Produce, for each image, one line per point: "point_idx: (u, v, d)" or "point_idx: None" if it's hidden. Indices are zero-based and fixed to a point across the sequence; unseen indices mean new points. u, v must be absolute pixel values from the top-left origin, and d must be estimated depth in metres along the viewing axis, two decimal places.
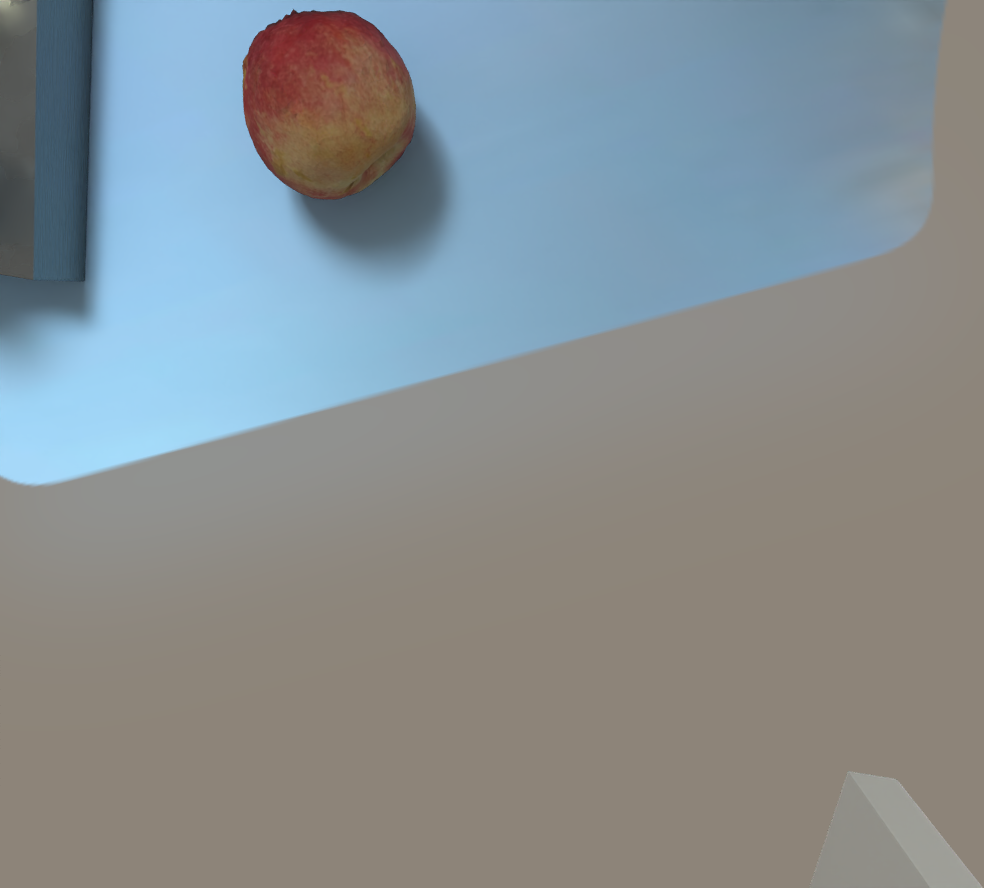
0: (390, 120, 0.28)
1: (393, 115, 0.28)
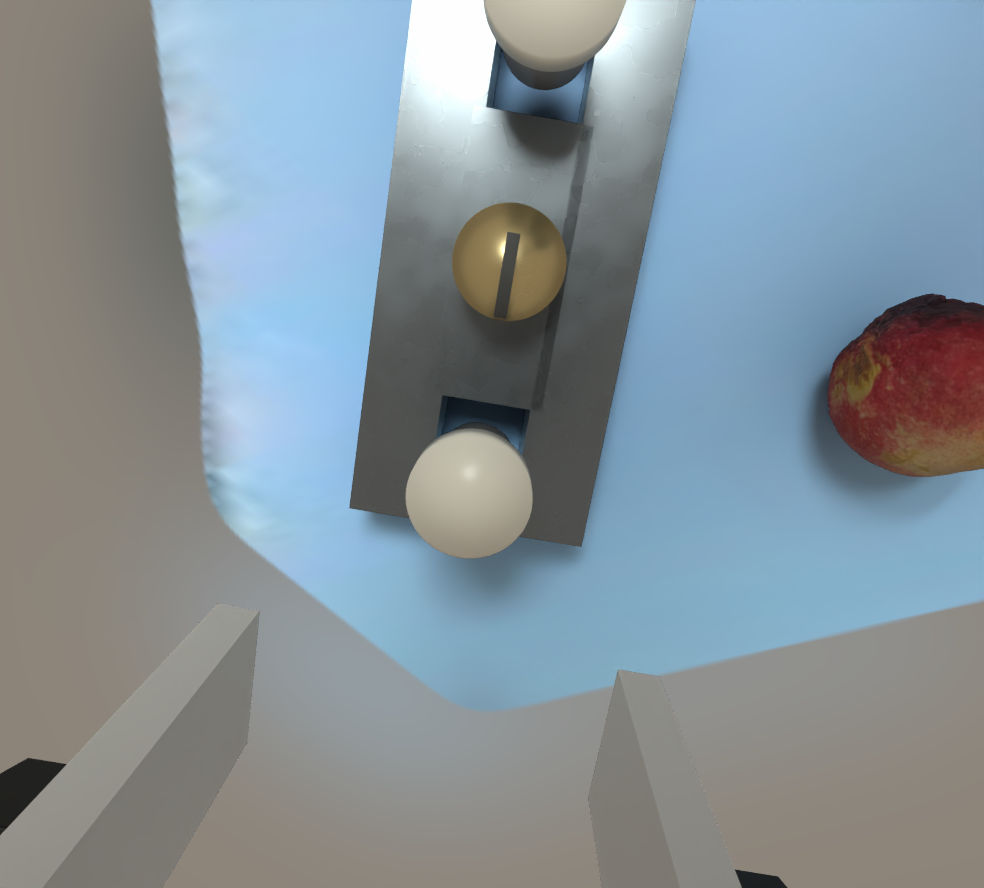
0: None
1: None
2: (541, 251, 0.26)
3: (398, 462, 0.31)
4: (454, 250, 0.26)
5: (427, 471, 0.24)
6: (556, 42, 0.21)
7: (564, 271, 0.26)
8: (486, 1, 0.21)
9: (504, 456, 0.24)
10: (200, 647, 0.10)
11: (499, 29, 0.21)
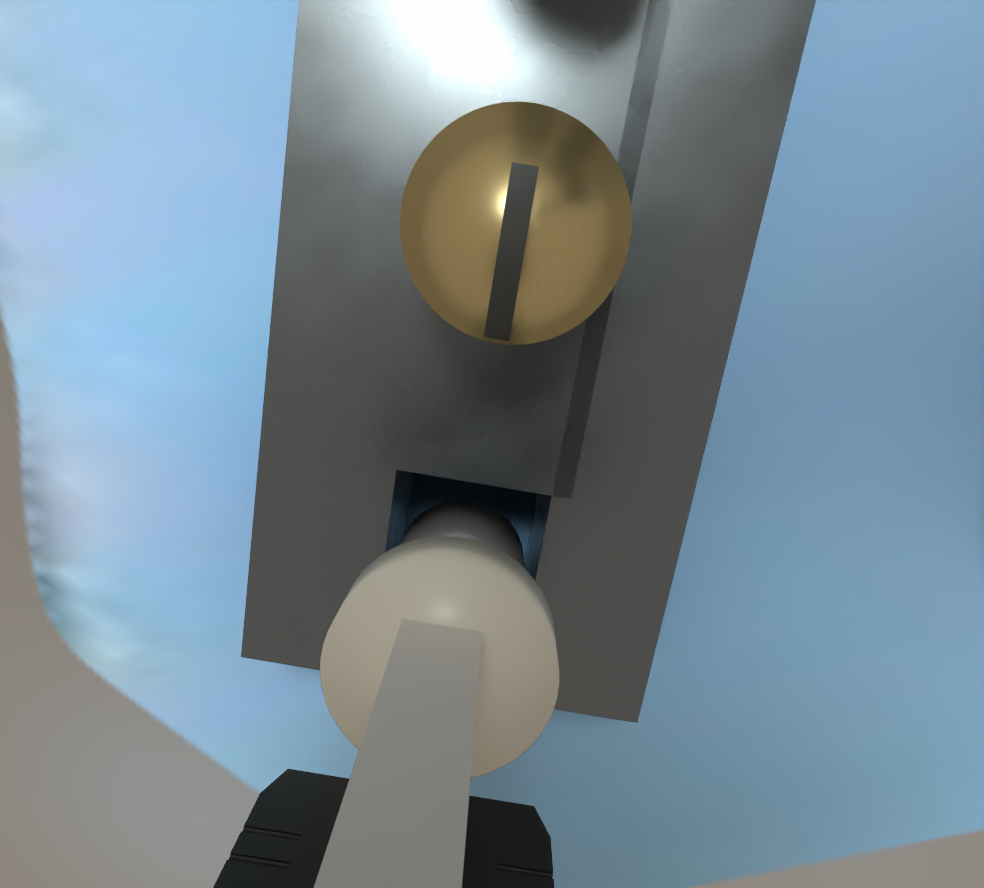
0: None
1: None
2: (581, 205, 0.13)
3: (322, 584, 0.18)
4: (404, 202, 0.13)
5: (359, 628, 0.13)
6: None
7: (627, 245, 0.13)
8: None
9: (506, 601, 0.12)
10: (408, 661, 0.11)
11: None
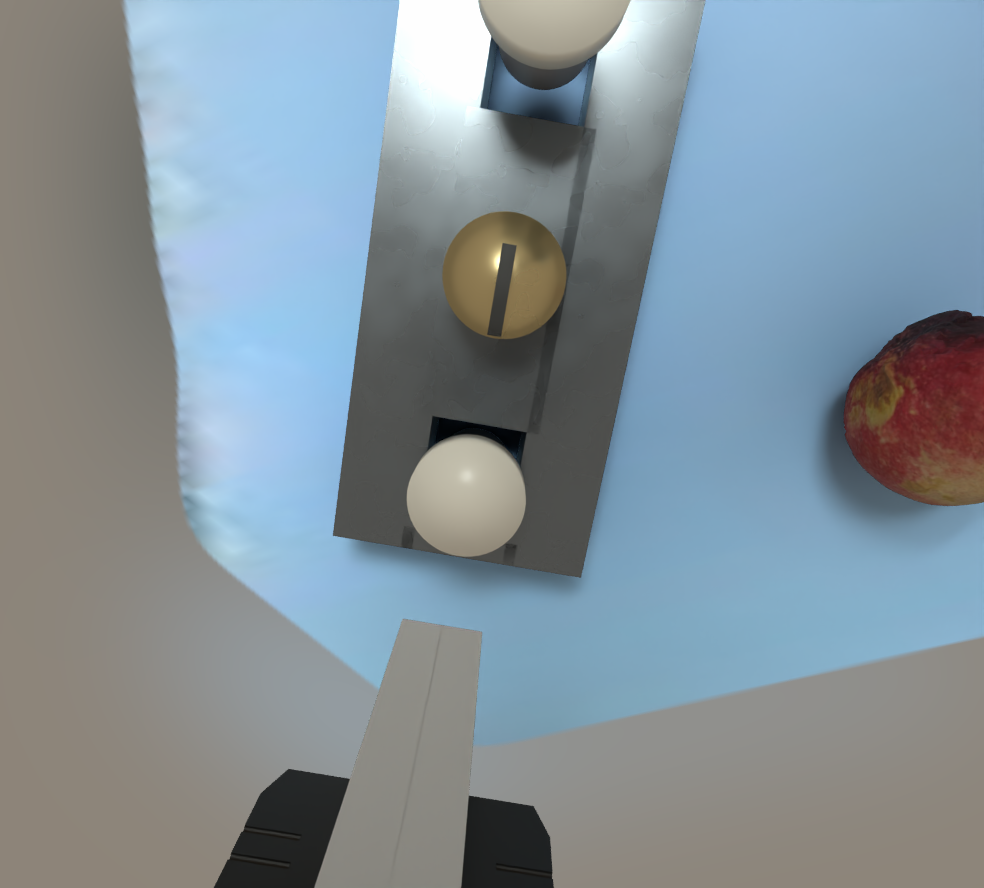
0: None
1: None
2: (539, 264, 0.24)
3: (385, 488, 0.29)
4: (445, 262, 0.24)
5: (426, 474, 0.26)
6: (556, 36, 0.19)
7: (564, 286, 0.24)
8: None
9: (499, 460, 0.25)
10: (409, 662, 0.11)
11: (493, 22, 0.19)
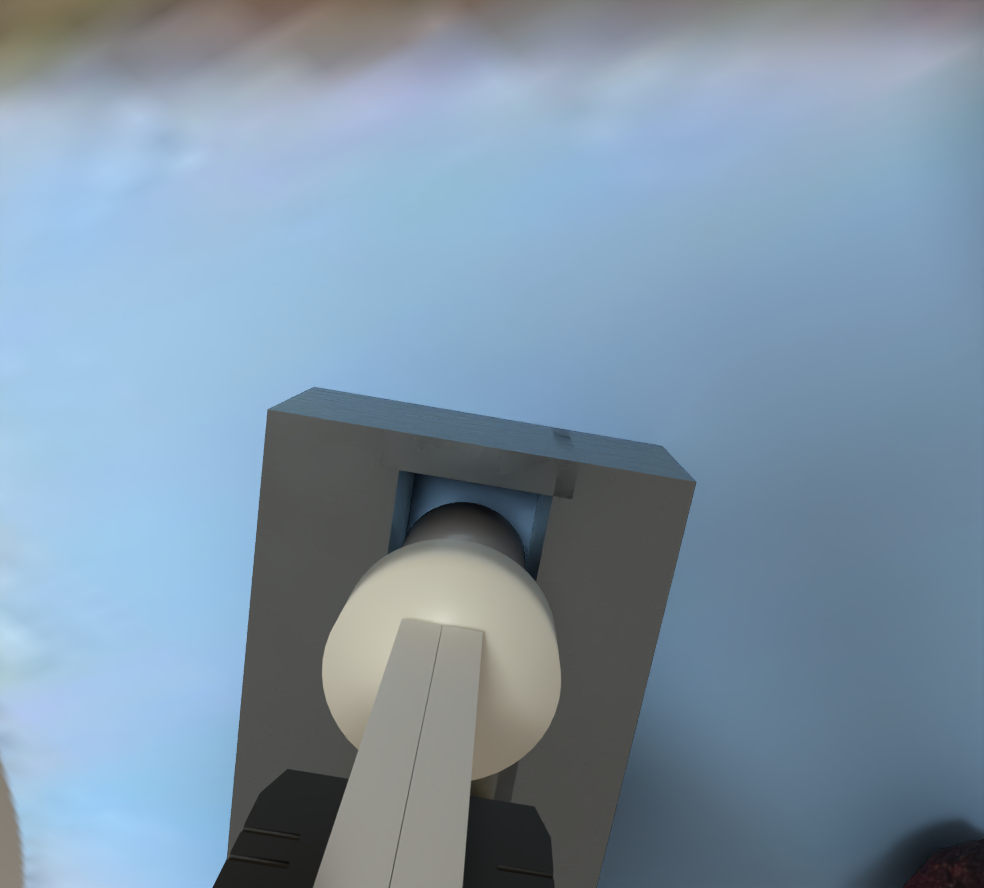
0: None
1: None
2: None
3: None
4: None
5: None
6: None
7: None
8: (332, 713, 0.13)
9: None
10: (408, 661, 0.11)
11: (355, 744, 0.13)
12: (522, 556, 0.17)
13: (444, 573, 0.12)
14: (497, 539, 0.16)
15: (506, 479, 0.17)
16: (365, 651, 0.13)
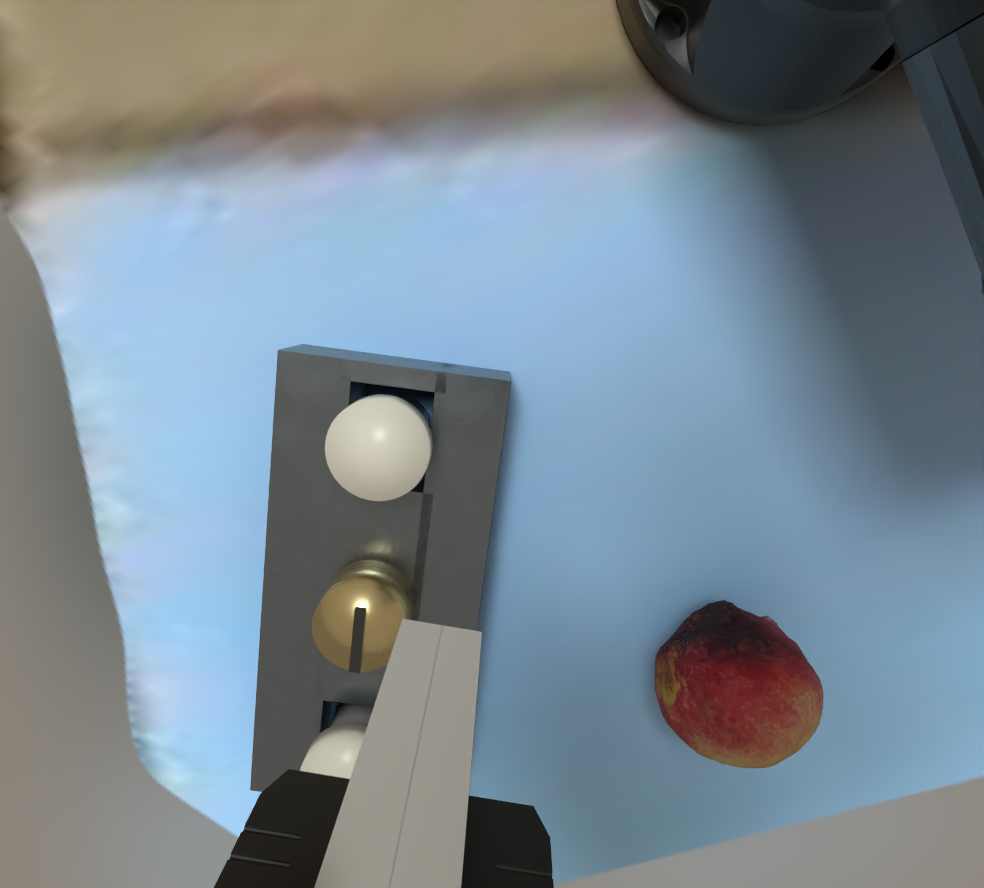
0: (813, 731, 0.32)
1: (815, 727, 0.32)
2: (385, 620, 0.31)
3: (289, 753, 0.36)
4: (313, 620, 0.31)
5: (312, 766, 0.33)
6: (381, 492, 0.30)
7: None
8: (330, 469, 0.30)
9: None
10: (409, 662, 0.11)
11: (341, 484, 0.30)
12: (425, 418, 0.34)
13: (375, 401, 0.29)
14: None
15: (409, 383, 0.32)
16: (343, 439, 0.29)
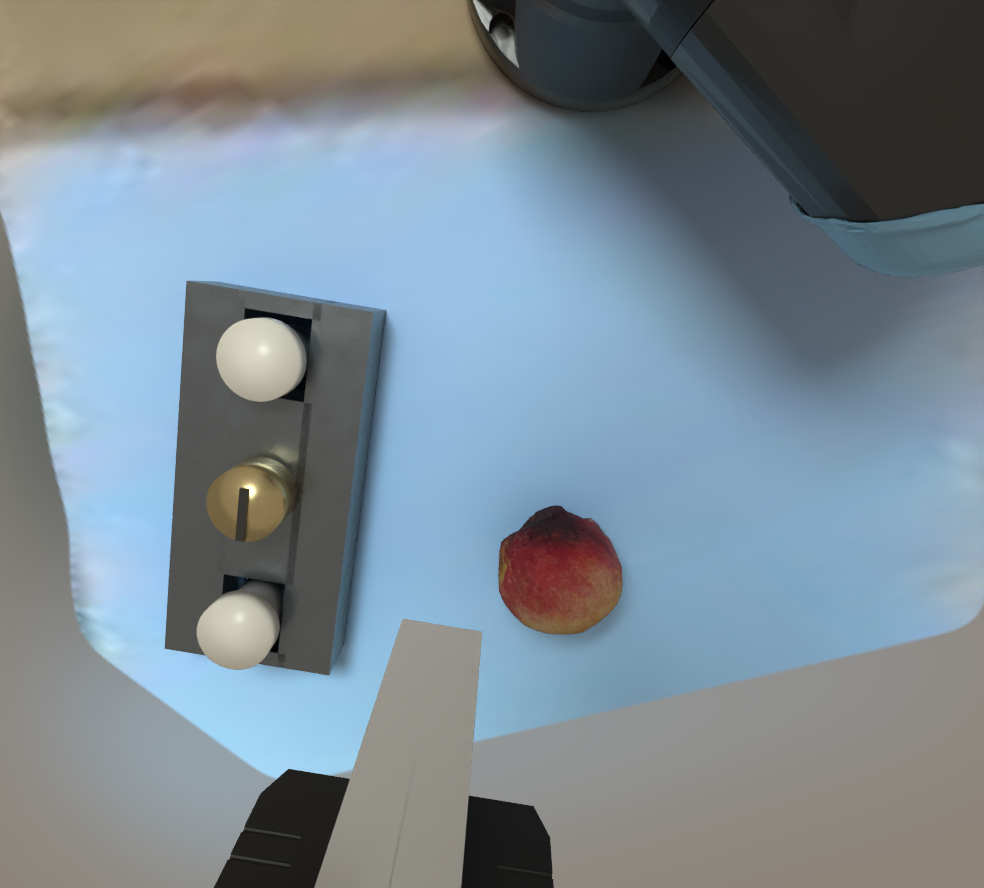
0: (611, 605, 0.40)
1: (613, 602, 0.40)
2: (264, 499, 0.39)
3: (196, 618, 0.44)
4: (207, 498, 0.39)
5: (208, 620, 0.41)
6: (260, 394, 0.38)
7: (280, 511, 0.39)
8: (220, 374, 0.37)
9: (252, 612, 0.41)
10: (409, 661, 0.11)
11: (229, 387, 0.38)
12: None
13: (256, 320, 0.37)
14: (295, 331, 0.41)
15: (291, 311, 0.39)
16: (230, 350, 0.37)
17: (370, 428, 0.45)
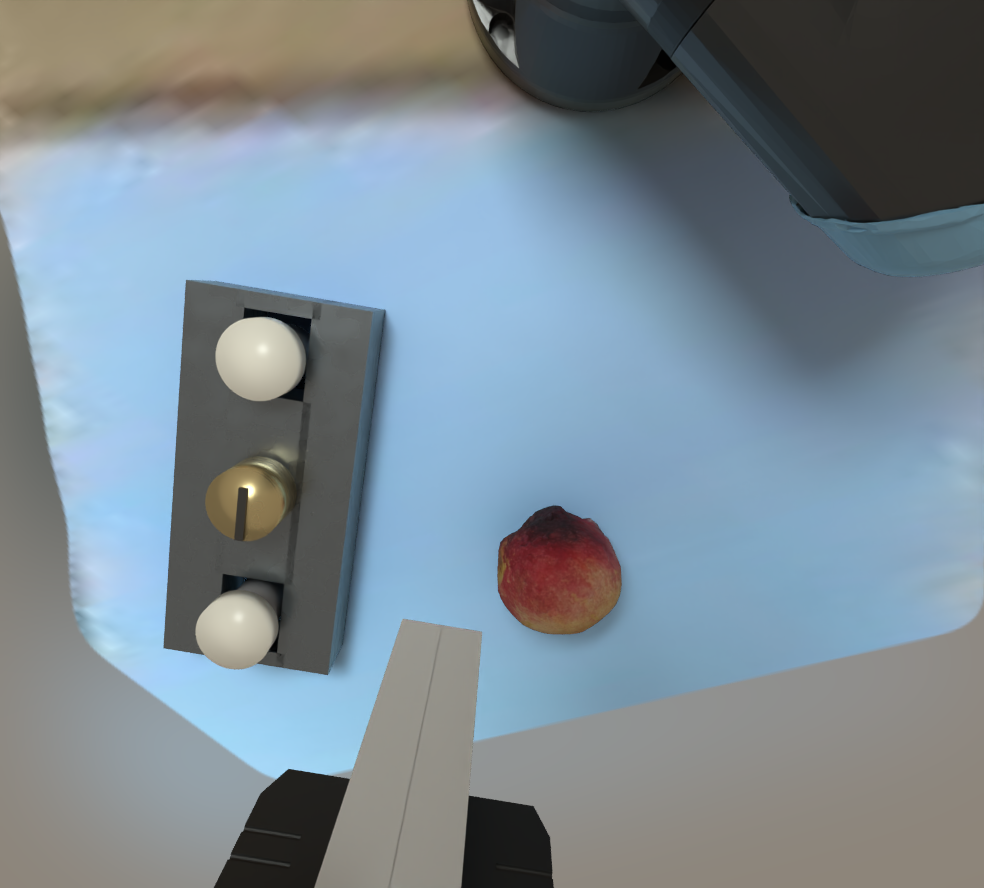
0: (610, 606, 0.40)
1: (612, 602, 0.40)
2: (263, 498, 0.39)
3: (195, 618, 0.44)
4: (206, 497, 0.39)
5: (207, 619, 0.41)
6: (260, 394, 0.38)
7: (279, 511, 0.39)
8: (219, 373, 0.37)
9: (251, 611, 0.41)
10: (409, 661, 0.11)
11: (228, 386, 0.38)
12: None
13: (255, 319, 0.37)
14: (294, 331, 0.41)
15: (291, 311, 0.39)
16: (230, 349, 0.37)
17: (369, 428, 0.45)
